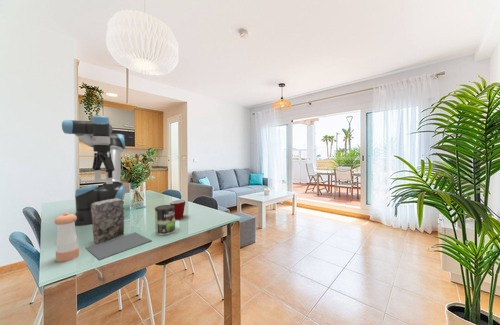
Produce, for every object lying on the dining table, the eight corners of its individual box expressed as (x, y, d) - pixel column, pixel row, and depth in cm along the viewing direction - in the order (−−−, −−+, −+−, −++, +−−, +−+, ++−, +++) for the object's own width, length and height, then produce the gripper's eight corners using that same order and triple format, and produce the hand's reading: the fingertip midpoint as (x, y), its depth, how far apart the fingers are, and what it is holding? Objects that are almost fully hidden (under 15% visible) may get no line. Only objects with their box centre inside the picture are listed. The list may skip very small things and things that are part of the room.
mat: (85, 248, 93) (85, 247, 93) (135, 232, 111) (135, 232, 111) (99, 260, 82) (99, 259, 82) (151, 241, 100) (151, 240, 100)
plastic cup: (174, 215, 142) (173, 198, 141) (188, 215, 140) (188, 199, 140) (166, 220, 131) (165, 202, 130) (182, 220, 130) (181, 202, 129)
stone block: (100, 244, 97) (98, 204, 96) (91, 242, 99) (89, 202, 98) (126, 234, 109) (124, 198, 108) (117, 232, 111) (116, 197, 111)
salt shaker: (83, 252, 89) (81, 210, 88) (69, 261, 81) (66, 215, 80) (66, 253, 88) (64, 210, 88) (50, 262, 81) (48, 216, 80)
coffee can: (179, 230, 114) (178, 206, 113) (163, 236, 105) (162, 210, 105) (167, 226, 119) (167, 203, 119) (151, 232, 111) (150, 207, 110)
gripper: (83, 144, 112) (85, 181, 114) (104, 143, 100) (106, 185, 101) (99, 144, 119) (101, 180, 120) (120, 144, 106) (122, 183, 107)
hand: (103, 182), depth 111 cm, fingers open, 13 cm apart
